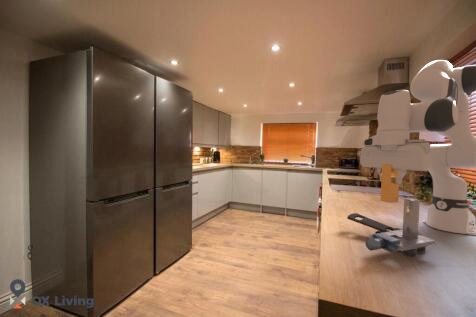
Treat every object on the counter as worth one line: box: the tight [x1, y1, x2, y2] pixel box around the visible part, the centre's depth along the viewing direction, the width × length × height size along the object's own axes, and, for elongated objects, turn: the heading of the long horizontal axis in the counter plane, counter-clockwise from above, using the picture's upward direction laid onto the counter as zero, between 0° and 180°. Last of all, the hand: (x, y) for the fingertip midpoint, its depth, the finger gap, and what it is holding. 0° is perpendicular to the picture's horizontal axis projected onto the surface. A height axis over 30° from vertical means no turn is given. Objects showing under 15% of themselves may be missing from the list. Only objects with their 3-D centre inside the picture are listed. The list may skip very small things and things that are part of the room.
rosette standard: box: [364, 197, 437, 258], centre depth 68 cm, size 23×10×18 cm, turn 112°
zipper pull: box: [346, 212, 427, 254], centre depth 83 cm, size 9×7×25 cm
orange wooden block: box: [380, 164, 400, 204], centre depth 71 cm, size 4×3×12 cm
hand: (390, 182), depth 71 cm, fingers closed on orange wooden block, 3 cm apart
